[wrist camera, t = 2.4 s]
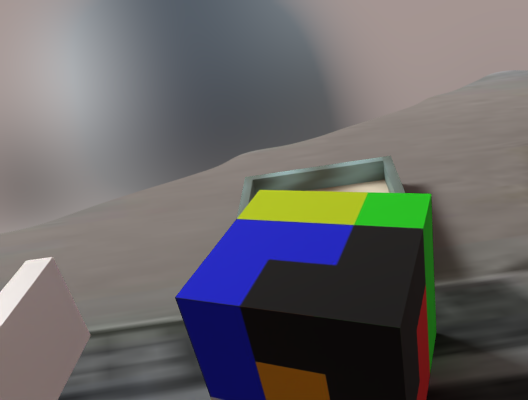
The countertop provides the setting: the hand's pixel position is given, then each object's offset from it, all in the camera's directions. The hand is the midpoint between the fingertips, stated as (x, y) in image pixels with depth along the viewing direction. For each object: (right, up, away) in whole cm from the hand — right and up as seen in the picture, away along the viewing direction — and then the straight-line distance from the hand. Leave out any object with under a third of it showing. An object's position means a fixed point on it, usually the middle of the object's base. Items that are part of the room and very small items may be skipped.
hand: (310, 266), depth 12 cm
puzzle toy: (+3, -9, +17) cm, 19 cm away
